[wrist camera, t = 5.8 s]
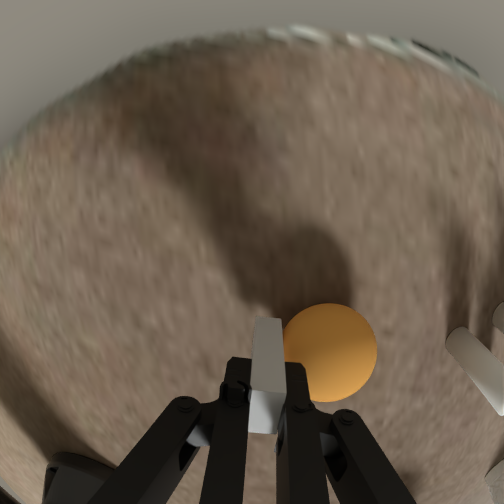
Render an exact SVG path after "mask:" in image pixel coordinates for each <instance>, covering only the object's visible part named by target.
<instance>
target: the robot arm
mask: <svg viewBox="0 0 504 504" xmlns="http://www.w3.org/2000/svg"><path fill="white" fill-rule="evenodd" d="M307 381H308V380H307V374H306V369H305V368H304V366H303V365H302V364H301V363H297V362H285V361H284V348H283V334H282V322H281V319H280V318H270V317H261V316H256V320H255V327H254V335H253V343H252V350H251V359H248V358H239V357H232V358H231V359H230V360H229V361H228V362H227V367H226V373H225V378H224V381H223V382H222V383H221V385H220V394H219V398H218V399H217V400H215V401H213V402H210V403H201V404H200V402H199V401H198V400H196V399H195V398H193V397H188V396H180V397H177V398H175V399H173V400H172V401H171V402H170V403H169V405H168V406H167V407H166V408H165V410H164V411H163V412H162V413H161V415H160V416H159V417H158V418H157V420H156V421H155V422H154V423H153V425H152V426H151V427H150V428H149V430H148V431H147V432H146V433H145V434H144V436H143V437H142V438H141V439H140V441H139V442H138V443H137V444H136V445H135V447H134V448H133V449H132V450H131V452H130V453H129V454H128V455H127V456H126V458H125V459H124V460H123V461H122V462H121V464H120V465H119V466H118V467H117V468H116V470H115V471H114V470H112V469H111V468H109V467H107V466H104V465H102V464H100V463H98V462H96V461H93V460H91V459H88V458H85V457H83V456H79V455H76V454H72V453H63V452H62V453H56V454H55V455H53V457H52V459H51V460H50V462H49V464H48V465H47V468H46V473H45V481H44V489H43V498H42V504H166V502H167V501H168V499H169V498H170V496H171V495H172V493H173V491H174V490H175V488H176V487H177V485H178V483H179V482H180V480H181V479H182V477H183V475H184V474H185V472H186V470H187V469H188V467H189V466H190V464H191V462H192V461H193V459H194V457H195V456H196V454H197V452H198V451H199V449H200V446H208V445H210V450H209V455H208V460H207V465H206V471H205V476H204V481H203V486H202V492H201V497H200V502H199V504H242V502H243V490H244V477H245V464H246V452H247V439H248V432H255V433H266V434H277V430H278V438H277V442H276V445H275V449H274V452H276V504H330V502H329V494H328V487H327V480H326V475H327V477H328V479H329V481H330V483H331V485H332V488H333V490H334V492H335V494H336V496H337V498H338V500H339V502H340V504H417V503H416V502H415V500H414V499H413V497H412V496H411V494H410V493H409V491H408V490H407V488H406V486H405V485H404V483H403V482H402V480H401V479H400V477H399V476H398V474H397V473H396V471H395V469H394V468H393V466H392V465H391V463H390V462H389V460H388V459H387V457H386V456H385V454H384V452H383V451H382V449H381V448H380V446H379V445H378V443H377V442H376V440H375V439H374V437H373V435H372V434H371V432H370V431H369V429H368V428H367V426H366V425H365V423H364V422H363V420H362V419H361V417H360V416H359V415H358V414H357V413H356V412H354V411H352V410H348V409H341V410H338V411H336V412H335V413H334V414H333V415H332V414H328V413H324V412H322V411H319V410H318V409H316V408H315V405H314V404H313V403H312V402H311V400H310V393H309V387H308V382H307ZM0 504H21V503H19V502H18V501H17V500H16V499H15V498H13V497H12V496H11V495H10V494H9V493H8V492H6V491H5V490H4V489H3V488H2V487H1V486H0Z"/></svg>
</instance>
